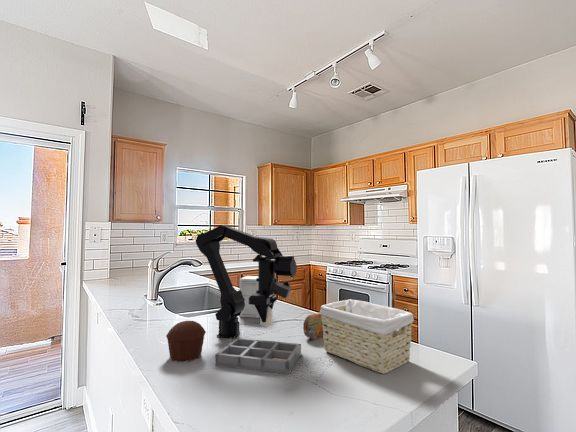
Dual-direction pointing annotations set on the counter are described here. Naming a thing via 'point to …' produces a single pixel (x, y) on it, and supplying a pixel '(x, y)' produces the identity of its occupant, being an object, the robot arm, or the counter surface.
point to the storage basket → (367, 334)
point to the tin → (313, 326)
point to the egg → (268, 318)
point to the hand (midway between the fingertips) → (266, 320)
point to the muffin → (185, 341)
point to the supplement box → (249, 288)
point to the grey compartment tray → (259, 355)
